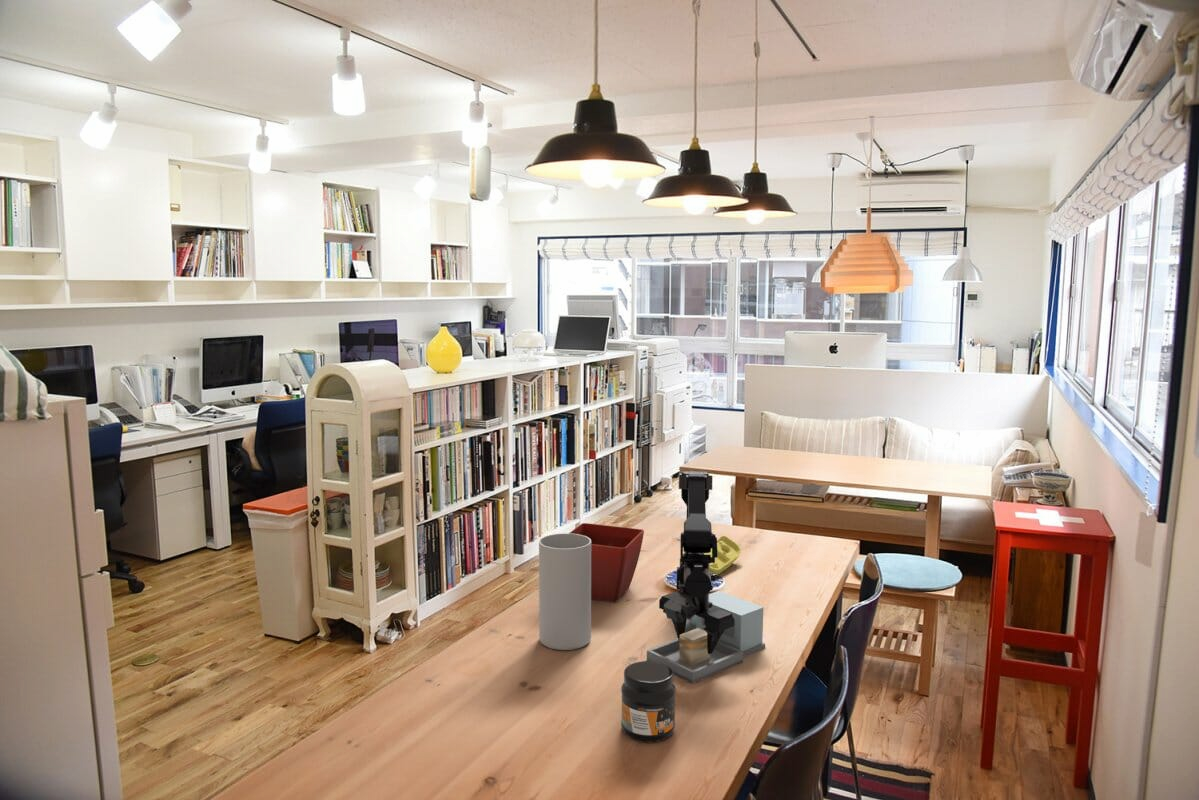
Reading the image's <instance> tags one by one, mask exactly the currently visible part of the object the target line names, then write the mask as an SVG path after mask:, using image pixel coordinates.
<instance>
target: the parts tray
mask: <svg viewBox="0 0 1199 800" xmlns="http://www.w3.org/2000/svg"><path fill="white" fill-rule="evenodd" d="M679 649H680V643H679V640H678V638H677V639H673V640H671V641H668V642H665V643H662V644H660V645H657V646H655V647H653V648H650V649H647V650H646V661H653V662H659V663H662V664H665V665H667V666H668V667H670V668H671V669H672V671H673V674H674V676H677V677H678V678H681V679H683V680H685V681H687V682H689V683H690V684H695V683H697V682H700V681H702V680H703V681H704V680H705V679H708V678H709V677H711V676H714V675H717V674H718V673H722V672H724V671H725V670H728V669H730V668H733V667H735V666H738V665H739V664H741V663H744V657H743V651H741V650H738V649H736V648H734V647H731V646H729V645H727V644H724V643H722V642H720V641H718V643H717V645H716V646H715V648H714V650H713V652H712V653H711V654H710V659H707V660H705V661H702V662H700V663H697V664H695V665H689V664H687V663H685V662H683V661H681V660H679Z"/></svg>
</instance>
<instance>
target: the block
mask: <svg viewBox="0 0 1199 800" xmlns="http://www.w3.org/2000/svg"><path fill="white" fill-rule="evenodd" d="M679 643H680V649H679V660H681V661H683V662H685V663H687V664H689V665H695V664H697V663H700V662H702V661H705V660H707V659H710V654H708V650H707V632H706V631H704V630H701V629H699V628H697V629H694V630H691V631H688V632H686V633H683V634H680V638H679Z"/></svg>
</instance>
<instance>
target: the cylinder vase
mask: <svg viewBox="0 0 1199 800" xmlns="http://www.w3.org/2000/svg"><path fill="white" fill-rule="evenodd" d="M538 599H539V600H538V603H539V604H538V607H539V608H538V609H539V611H538V612H539V613H538V615H539V616H538V617H539V619H538V620H539V623H538V625H539V627H538V628H539V634H538V635H539V636H538V638H539V641H540V643H541V644H542V645H543V646H545V647H546V648H549V649H552V650H557V651H573V650H578V649H580V648H581V649H582V648H583V647H585V646H587V645H588V644H589V643H590V641H591V638H592V599H591V539H590V538H588V537H586V536H583V535H579V534H570V532H568V533H566V532H565V533H554V534H552V533H551V534H548V535H545V536H543V537H541V538H540V539H539V540H538Z"/></svg>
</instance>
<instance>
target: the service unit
mask: <svg viewBox="0 0 1199 800" xmlns="http://www.w3.org/2000/svg"><path fill="white" fill-rule="evenodd" d="M709 602H711V603H712V607H711V608H709V609H708V611H710V612H715V611H717V610H720V609H721V610H723V611H726V612H728V613H731V614H732V615H733V616H734V618H735V624H734V626H733V627H731V628H728V629H726V630H725V631H724V632H723V634H722V635H721V637H720V639H719V641H720V642H722V643H724V644H727V645H729V646H731V647H734V648H736V649H738V650H741V651H743V658H744V657H746V656H748V655H751V654H752V653H755V652H758V651H760V650H763V649H765V648H766V643H765V642H763V636H764V634H763V631H764V606H761V605H759V604H756V603H753V602H750V601H748V600H745V599H743V598H739V597H737V596H734V595H731V594H729V593H727V592H723V591H722V590H721V591H720V590H719V591H714V592H712V593H709ZM705 627H706V626H705V624H704V618H701V617H699V616H697V625H696V629H697V628H699V629H701V630H704V628H705ZM704 631H705V630H704Z"/></svg>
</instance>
